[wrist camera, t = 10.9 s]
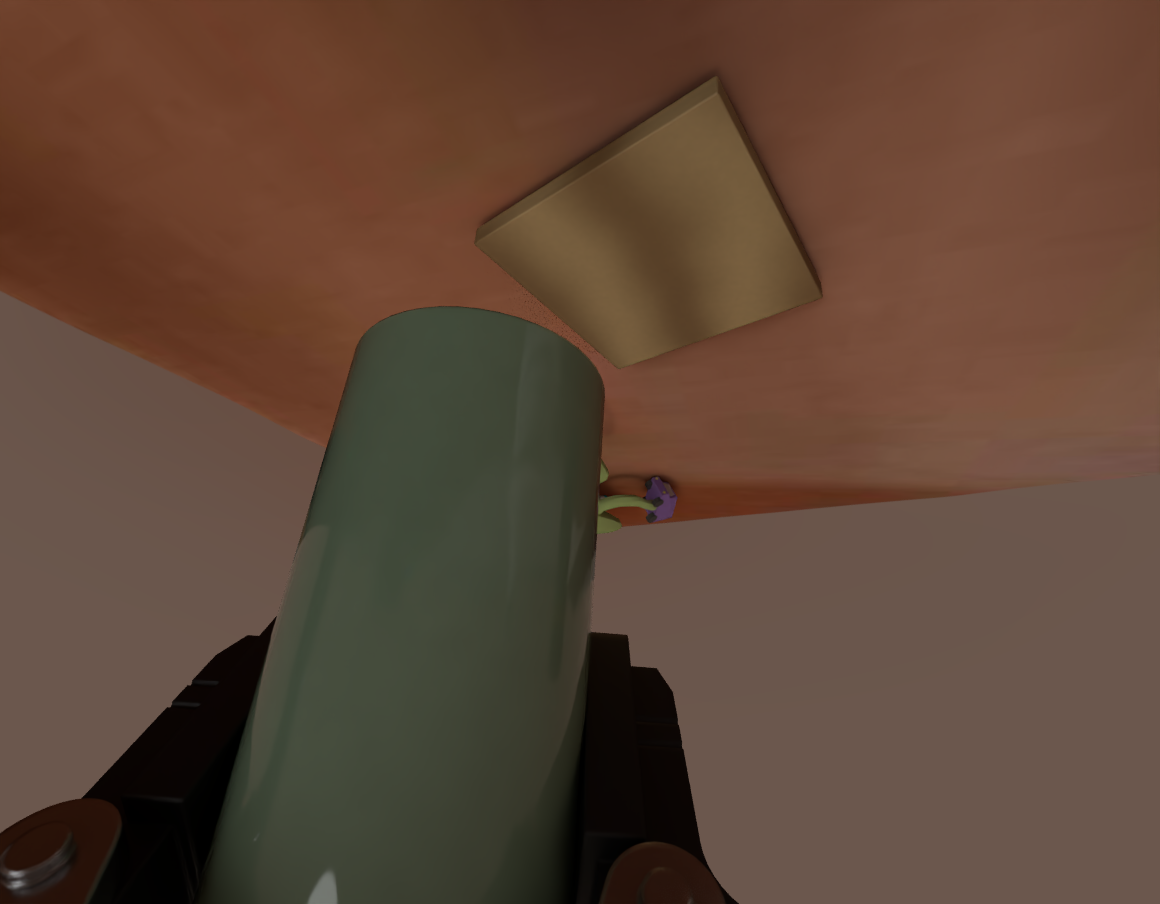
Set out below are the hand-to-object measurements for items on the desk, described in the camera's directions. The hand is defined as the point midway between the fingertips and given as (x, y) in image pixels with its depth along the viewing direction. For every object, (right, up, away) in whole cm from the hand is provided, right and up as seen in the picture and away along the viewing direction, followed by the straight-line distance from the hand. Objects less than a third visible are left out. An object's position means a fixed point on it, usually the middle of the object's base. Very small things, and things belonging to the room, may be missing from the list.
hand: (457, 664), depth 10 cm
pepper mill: (0, +5, 0) cm, 5 cm away
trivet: (+6, +14, +17) cm, 22 cm away
